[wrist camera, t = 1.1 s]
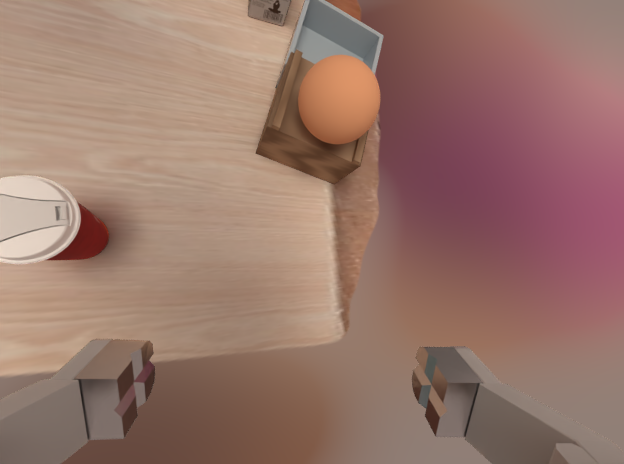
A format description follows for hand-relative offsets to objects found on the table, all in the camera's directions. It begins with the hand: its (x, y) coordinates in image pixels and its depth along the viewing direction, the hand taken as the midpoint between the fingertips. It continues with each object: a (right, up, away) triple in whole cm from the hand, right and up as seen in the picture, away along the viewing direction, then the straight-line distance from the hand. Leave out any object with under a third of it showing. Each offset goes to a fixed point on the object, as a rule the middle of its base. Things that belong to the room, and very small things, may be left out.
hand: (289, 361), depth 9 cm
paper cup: (-28, +3, +28) cm, 40 cm away
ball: (+4, +20, +27) cm, 34 cm away
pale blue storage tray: (+3, +33, +43) cm, 54 cm away
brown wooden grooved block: (0, +20, +40) cm, 45 cm away
